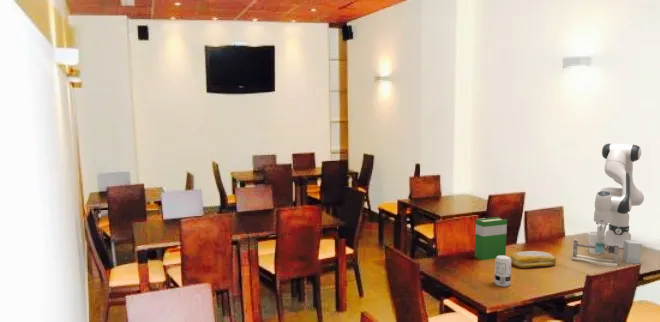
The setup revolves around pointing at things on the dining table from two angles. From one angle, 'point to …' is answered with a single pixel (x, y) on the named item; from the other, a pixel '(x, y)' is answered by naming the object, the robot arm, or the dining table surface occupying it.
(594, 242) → the foam cup
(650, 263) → the dining table surface
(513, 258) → the bread
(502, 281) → the supplement can
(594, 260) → the rail stand
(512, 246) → the dining table surface
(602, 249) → the sleeve
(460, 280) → the dining table surface
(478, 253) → the green cereal box
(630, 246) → the supplement box
